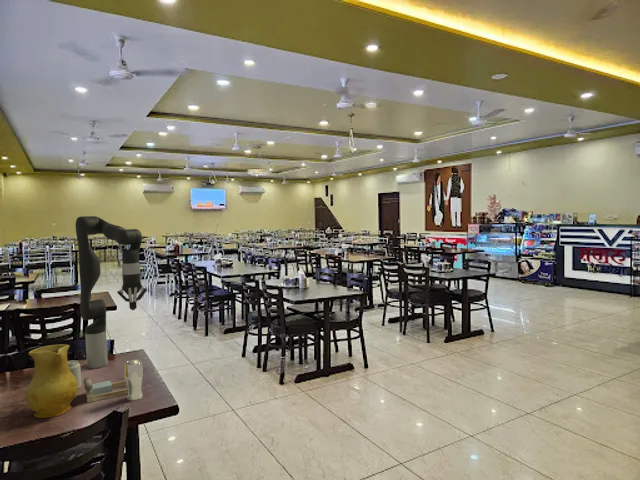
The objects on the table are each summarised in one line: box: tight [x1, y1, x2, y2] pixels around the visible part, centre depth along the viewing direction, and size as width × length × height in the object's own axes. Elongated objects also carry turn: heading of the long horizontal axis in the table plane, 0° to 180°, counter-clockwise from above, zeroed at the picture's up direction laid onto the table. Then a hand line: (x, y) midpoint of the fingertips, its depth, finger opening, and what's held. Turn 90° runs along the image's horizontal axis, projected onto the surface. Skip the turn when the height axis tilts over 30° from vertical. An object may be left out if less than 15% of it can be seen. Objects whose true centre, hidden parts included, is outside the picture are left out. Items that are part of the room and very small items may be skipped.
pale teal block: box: [91, 380, 113, 396], centre depth 181 cm, size 6×8×4 cm
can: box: [67, 359, 82, 390], centre depth 185 cm, size 8×8×12 cm
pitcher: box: [25, 343, 79, 419], centre depth 166 cm, size 17×19×25 cm
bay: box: [83, 376, 128, 404], centre depth 180 cm, size 11×17×7 cm, turn 122°
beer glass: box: [123, 359, 144, 402], centre depth 176 cm, size 7×7×15 cm
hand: (133, 309), depth 196 cm, fingers closed
